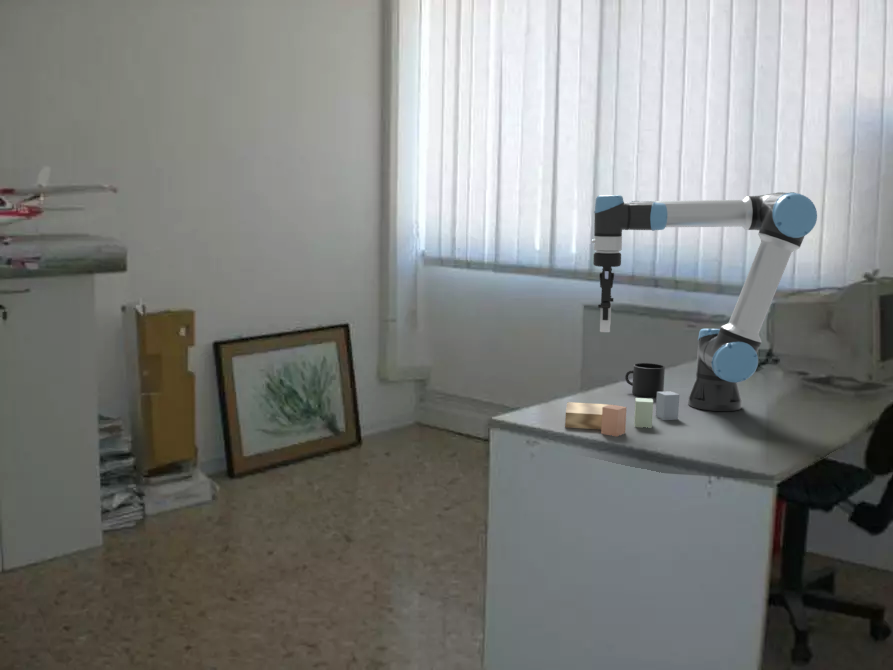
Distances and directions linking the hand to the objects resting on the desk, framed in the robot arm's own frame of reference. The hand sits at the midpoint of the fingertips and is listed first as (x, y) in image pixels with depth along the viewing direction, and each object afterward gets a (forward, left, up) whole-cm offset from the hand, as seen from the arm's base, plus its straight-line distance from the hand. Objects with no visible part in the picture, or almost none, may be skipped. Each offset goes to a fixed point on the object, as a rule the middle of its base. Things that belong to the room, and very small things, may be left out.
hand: (605, 328), depth 285 cm
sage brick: (-11, +12, -24) cm, 29 cm away
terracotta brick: (-3, +23, -24) cm, 33 cm away
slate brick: (-18, +1, -24) cm, 30 cm away
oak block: (+3, +13, -24) cm, 27 cm away
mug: (-13, -30, -24) cm, 41 cm away
